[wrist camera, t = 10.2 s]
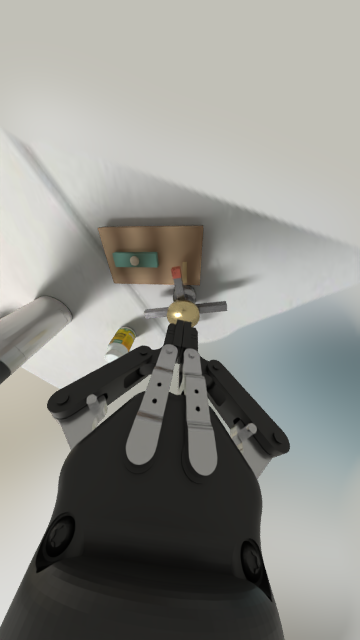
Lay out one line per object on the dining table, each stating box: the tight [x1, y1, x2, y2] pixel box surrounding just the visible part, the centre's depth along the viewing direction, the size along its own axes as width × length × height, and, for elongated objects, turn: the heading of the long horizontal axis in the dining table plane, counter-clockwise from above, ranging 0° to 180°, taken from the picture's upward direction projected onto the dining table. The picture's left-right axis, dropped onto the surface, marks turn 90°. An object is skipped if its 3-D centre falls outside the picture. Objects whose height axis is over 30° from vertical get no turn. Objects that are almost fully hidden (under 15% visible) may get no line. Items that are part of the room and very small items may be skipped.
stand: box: [98, 226, 203, 285], centre depth 28 cm, size 18×10×5 cm, turn 91°
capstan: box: [144, 266, 227, 327], centre depth 32 cm, size 17×17×7 cm
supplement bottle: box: [105, 327, 136, 363], centre depth 40 cm, size 5×5×10 cm
